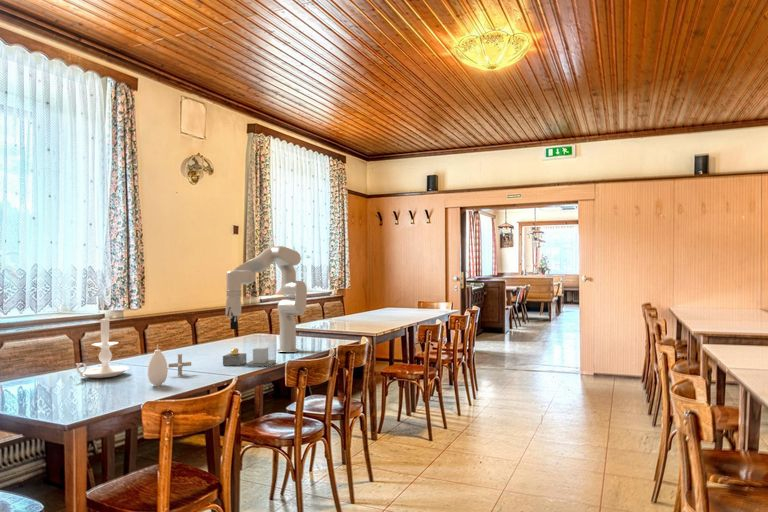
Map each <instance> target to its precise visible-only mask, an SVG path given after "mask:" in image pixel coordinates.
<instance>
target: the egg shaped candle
mask: <svg viewBox="0 0 768 512" xmlns="http://www.w3.org/2000/svg"><path fill="white" fill-rule="evenodd" d="M153 351H154V353H153V354H151V357H150V360H149V361H148V366H147V377H148V380H149V382H150V384H152V386H154V387H161V386H163V383H165V382H166V379H167V378H168V374H169V373H168V370H169V369H168V368H169V367H168V363H167V359H166V358H165V355H164V354H163V353H162V350H161V349H159V344H158V343H157V344H156V349H155V350H153Z"/></svg>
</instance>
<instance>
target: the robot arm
mask: <svg viewBox="0 0 768 512" xmlns="http://www.w3.org/2000/svg"><path fill="white" fill-rule="evenodd" d="M301 260H302V257H301V254H300V252H298V251H297V250H295V249H291V248H289V247H287V246H282V245H281V246H279V245H278V246H268V247H267V248H265V249H264V250H263V251H262V252H260V253H259V254H258V255H257V256H255V257H254V258H252V259H250V260H247V261H246V262H244V263H241V264H239V265H238V266H236V267H235V268H234V269H233V270H228V271H227V272H226V301H225V316H226V317H228V319H229V320H230V321H229V322H230V330H238V327H239V326H238V324H239V322H238V321H239V317H240V315H241V314H242V301H241V300H242V298H241V297H242V285H251V284H252V283H254V282H255V281H256V274H257V273H260V272H263V271H265V270H266V269H267V268H268V267H270V266H271V265H272V264H273V263H275V264H276V265H277V266H278V268H279V269H280V272H281V284H280V286H281V287H280V289H281V290H280V292H281V293H280V294H282V296H284V297H289V298H283V299H281V300H279V301H278V303H277V312H278V318H279V349H277V350H276V352H277V351H278V352H295V353H298V352H299V350H300V349H299V348H297V329H296V326H297V321H296V319H295V316H302V315H304V314H305V312H306V310H307V298H308V296H307V295H308V291H307V290H308V288H307V287H308V286H307V285H306V283H305V282H304V281H303V280H297V274H296V273H297V272H296V269H295V266H298V265H299V264H300V263H301ZM290 297H293V298H290ZM297 351H298V352H297ZM278 352H277V353H278Z"/></svg>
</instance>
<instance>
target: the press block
mask: <svg viewBox="0 0 768 512" xmlns="http://www.w3.org/2000/svg"><path fill="white" fill-rule="evenodd" d="M245 362H246V363H247V353H244V352H243V353H239V352H238V355H231V352H230V353H227V354H225V355H223V356H222V366H223V365H241V364H243V363H245ZM246 363H245V364H246ZM243 365H244V364H243ZM241 366H242V365H241Z"/></svg>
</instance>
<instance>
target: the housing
mask: <svg viewBox="0 0 768 512" xmlns="http://www.w3.org/2000/svg"><path fill="white" fill-rule="evenodd" d="M268 360H269V347H258V346H257V347H254V348H253V349H252V361H253V363H265V362H267V361H268Z"/></svg>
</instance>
